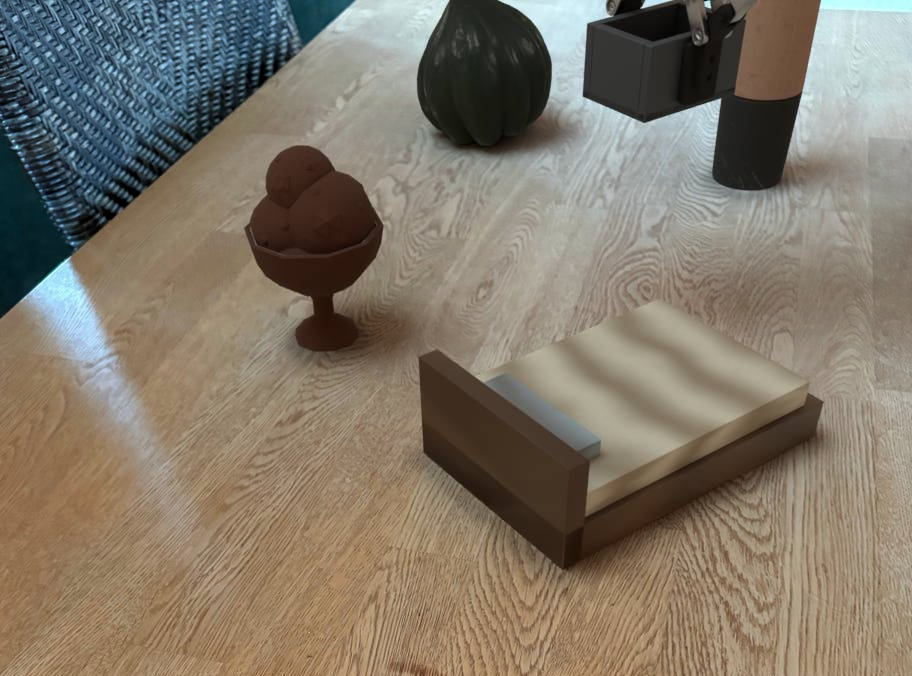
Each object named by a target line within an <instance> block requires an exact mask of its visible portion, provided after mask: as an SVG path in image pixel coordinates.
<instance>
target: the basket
mask: <svg viewBox="0 0 912 676" xmlns="http://www.w3.org/2000/svg"><path fill="white" fill-rule="evenodd" d="M705 9H706V15H707V19H708V18H709V17H710V16H711V15H712V11H711V7H708V6H705ZM745 25H746V20H745V19H743V20H742V21H741V22H740V23H739V24H738V25H737V26H736V27H735V28H734V29H733V32H732V34H731V36H730V37H728V38H725V39H723V43H722V50H721V57H720V63H719V70H718V77H717V83H716V90H715V94H714V95H713V96H712V97H711V98H708V99H705V100H702V101H699V102H696V103H693V104H690V105H686V106H685V105H682V104H680V103H679V102H678V90H679V82H680V74H681V66H682V58H683V50H684V47H685V44H686V43H689V42H692V36H691V31H690V25H689V20H688V14H687V9H686V3H685V0H668V1H664V2H661V3H656V4H654V5H649V6H646V7H641V9H638V10H634V11H631V12H627V13H623V14H619V15H616V16H609V17H605V18H601V19H598V20H594V21H590V22H587V23H586V33H585V34H586V35H585V51H584V65H583V66H584V67H583V81H582V82H583V83H582V86H583V87H582V98H584V99H587V100H590V101H592V102H594V103H597V104H599V105H601V106H603V107H605V108H608V109H609V110H613V111H615V112H617V113H619V114H622V115H624V116H627V117H629V118H631V119H634V120H636V121H637V122H639V123H643V124H646V123H650V122H652V121H655V120H659V119H661V118H665V117H668V116H672V115H674V114H677V113H681V112H683V111H686V110H690V109H693V108H696V107H699V106H702V105H705V104H708V103H712V102H714V101H718V100H721V98H724V97H727V96H730V95H733V94H735V88H736V81H737V74H738V68H739V62H740V56H741V50H742V44H743V38H744V31H745Z"/></svg>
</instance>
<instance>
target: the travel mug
mask: <svg viewBox="0 0 912 676" xmlns="http://www.w3.org/2000/svg"><path fill="white" fill-rule="evenodd" d="M821 2H822V0H758V1H757V2H756V3H755V4H754V5H753V7H752V8H751V9H750V10H749V11H747V14H746V17H745V18H744V19H745V20H746V25H745V31H744V38H743V44H742V50H741V56H740V62H739V68H738V74H737V81H736V88H735V94H733V95H730V96H727V97H724V98H721V99H720V104H719V112H718V120H717V127H716V137H715V142H714V151H713V159H712V167H711V175H712V178H713V180H714V181H716V182H717V183H719V184H721V185H723V186H725V187H728V188H732V189H736V190H745V191H747V190H748V191H752V190H753V191H756V190H763V189H768V188H772V187H774V186H776V185H777V184H779V183H780V181H781V180H782V177H783V174H784V170H785V165H786V162H787V158H788V153H789V149H790V146H791V141H792V137H793V133H794V128H795V124H796V120H797V117H798V112H799V109H800V103H801V100H802V95H803V91H804V88H805V82H806V77H807V72H808V68H809V62H810V59H811V53H812V47H813V43H814V38H815V33H816V28H817V22H818V18H819V13H820V8H821Z"/></svg>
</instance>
